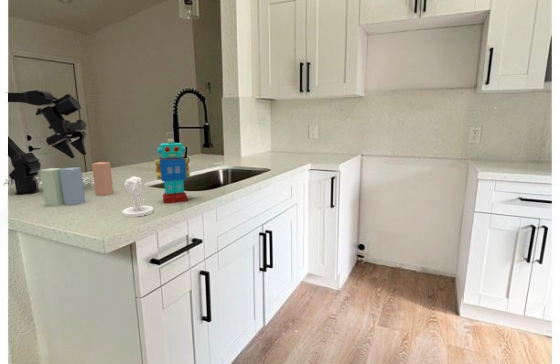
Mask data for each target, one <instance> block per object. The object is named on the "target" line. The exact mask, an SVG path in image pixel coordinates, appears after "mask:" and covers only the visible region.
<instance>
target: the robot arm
mask: <svg viewBox="0 0 560 364" xmlns="http://www.w3.org/2000/svg"><path fill="white" fill-rule="evenodd" d="M7 93H8V102H7V103H23V104H26V105H27V104H28V105H32V106H38V108H37V110H36V111H35V112H36V113H35V115H36V116H43V117H44V119H45V121H46V122H47V123H48V125H49V126H48V127H47V128H48V129H49V130H52V131H53V132H54V134H52V135H49V136H48V137H46V140H45V142H46V143H47V145H48V147H49V146H51V147H52V148H54V149H56V150H57V151H60V152H61V153H63V154H64V155H65V156H67V157H69V158H71V159H74V158H75V154H74V153H73V150H72V148H71V147H70V145H71V146H72V147H73V148H75V150H77V151H78V153H80V154H81V155H82V156H86V155H87V152H86V148H85V144H84V143H85V142H84V141H85V139H86V136H87V134H86V132H85V131H84V130H87V125H88V123H86V121H84V120H83V119H77V120H76V122H71V121H70V120H68V119H66V118H65V117H64V116H66V117H68V116H70V115H72V114H74V113H76V112H78V111H80V110H81V109H82V106H81V104H80V103H79V101H77V99H76V98H75V97H74V96H73V95H72V94H70V93H67V94H64V96H61V97H60V98H58V97H55V96H53V94H52V93H51V92H50V91H47V90H39V89H35V90H28V91H24V92H7ZM52 105H53V106H52ZM40 107H41V108H40ZM42 107H43V108H42ZM63 115H64V116H63ZM7 156H8V157H9V158H10V162H11V166H12V167H13V170H12V171H11V172H10V173H9V174H8V176H9V178H10V179H11V180H12V181H14V186H15V191H16V192H15V193H14V195H25V194H26V195H27V194H35V193H36V192H38V191H39V190H40V186H39V181H38V179H37V178H36V177H37V176H38V174H39V172H40V170H41V168H42V167H41V165H42V164H41V162H40V159H39V158H37V157H36V155H35V154H34V153H33V152H27V153H26V152H25V151H24V150H22V149H21V148H20V147H19V146H18V145H17V144H16V143H15V141H13V139H12V138H11V137H10V136H9V135H8V155H7Z"/></svg>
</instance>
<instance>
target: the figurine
mask: <svg viewBox="0 0 560 364" xmlns="http://www.w3.org/2000/svg"><path fill="white" fill-rule="evenodd" d="M142 182H143V181H142V178H141V177H139V176H131V177H130V178H128V179H127V178H126V179H125V181H124V184H123V186H124V188H125V191H126V192H127V193H129V194H131V196H130V197H131V198H130V199H131V200H130V202H131V203H132V204H133V205H132V206H130V207H127V208H124V209H123V210H122V216H123V215H124V216H123V217H125V216H127V217H126V218H138V217H137V216H141V217H145V216H144V215H146V216H149V215H152V214H153V213H154V207H153V206H151V205H142V200H143V201H145V198H144V196H142V194H143V192H144V186H143V183H142ZM148 214H149V215H148Z"/></svg>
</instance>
